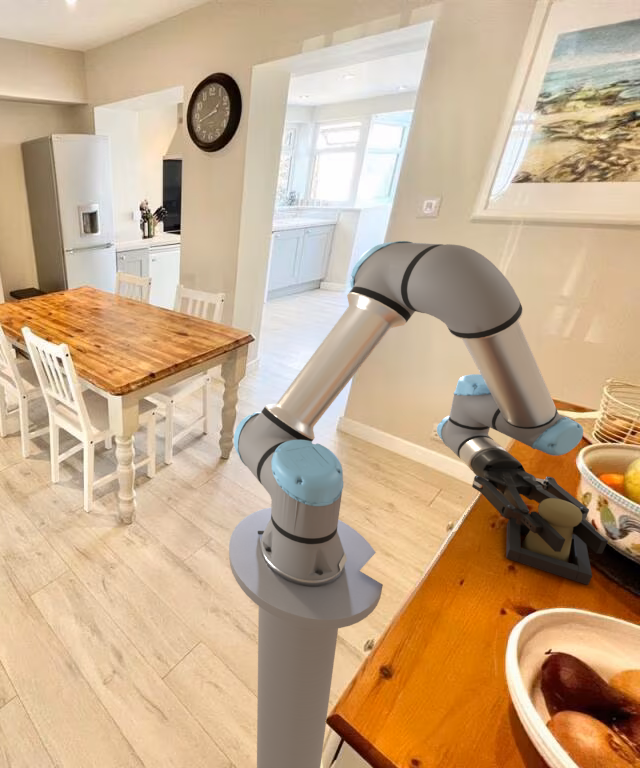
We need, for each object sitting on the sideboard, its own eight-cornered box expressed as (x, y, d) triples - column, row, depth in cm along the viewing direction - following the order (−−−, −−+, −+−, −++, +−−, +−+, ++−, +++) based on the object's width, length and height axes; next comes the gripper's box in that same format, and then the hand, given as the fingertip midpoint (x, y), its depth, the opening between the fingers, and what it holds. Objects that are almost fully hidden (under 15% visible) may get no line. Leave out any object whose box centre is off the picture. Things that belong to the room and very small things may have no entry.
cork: (516, 551, 73) (533, 504, 69) (526, 534, 76) (543, 488, 72) (563, 571, 69) (584, 522, 64) (572, 553, 72) (592, 504, 67)
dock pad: (506, 558, 72) (509, 549, 72) (507, 524, 79) (509, 516, 78) (588, 585, 66) (592, 575, 65) (581, 546, 73) (585, 537, 72)
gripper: (535, 477, 85) (640, 566, 65) (439, 476, 89) (510, 560, 69) (545, 447, 83) (659, 531, 62) (446, 448, 86) (521, 526, 66)
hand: (580, 546), depth 65 cm, fingers open, 5 cm apart
